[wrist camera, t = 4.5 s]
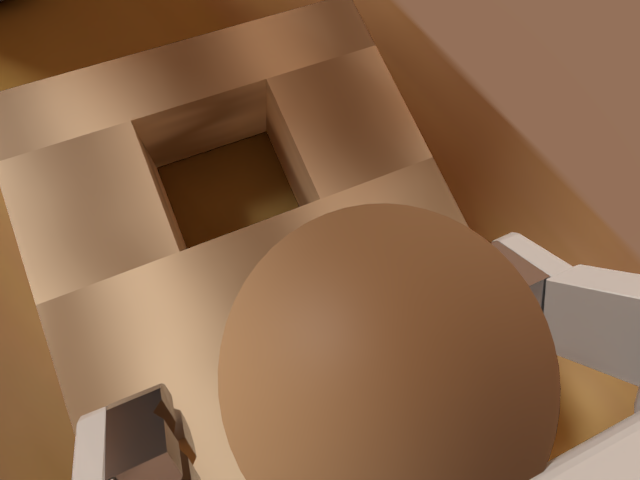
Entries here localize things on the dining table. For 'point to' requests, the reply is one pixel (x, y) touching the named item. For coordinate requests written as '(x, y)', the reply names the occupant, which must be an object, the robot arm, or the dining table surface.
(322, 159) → the board
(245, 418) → the peg
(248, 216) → the dining table surface
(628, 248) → the dining table surface
